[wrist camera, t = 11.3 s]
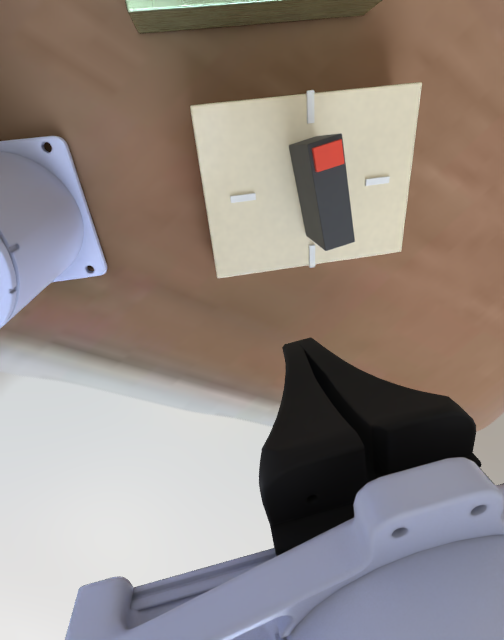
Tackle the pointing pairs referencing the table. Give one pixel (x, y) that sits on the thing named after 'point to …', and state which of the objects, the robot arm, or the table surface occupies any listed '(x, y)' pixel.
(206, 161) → the dial panel
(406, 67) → the table surface
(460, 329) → the table surface
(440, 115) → the table surface
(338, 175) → the block
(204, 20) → the push button base
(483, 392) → the table surface
